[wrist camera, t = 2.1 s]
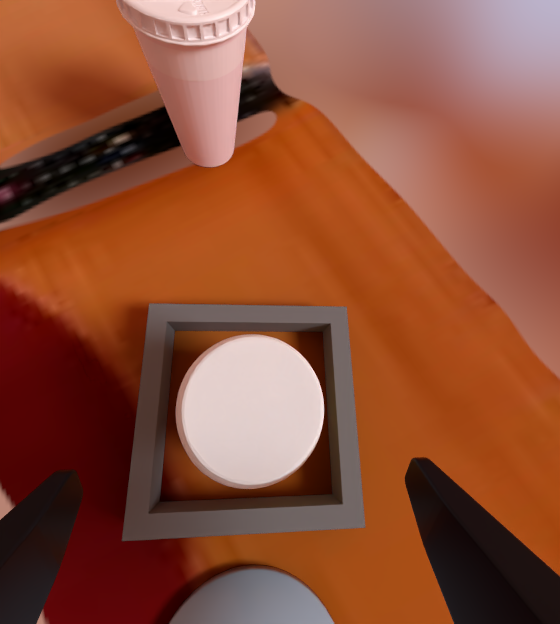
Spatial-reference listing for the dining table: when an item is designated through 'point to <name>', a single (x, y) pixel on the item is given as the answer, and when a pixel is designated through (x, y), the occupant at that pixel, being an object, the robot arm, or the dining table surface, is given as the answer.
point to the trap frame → (241, 511)
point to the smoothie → (195, 67)
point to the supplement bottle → (249, 411)
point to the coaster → (252, 599)
